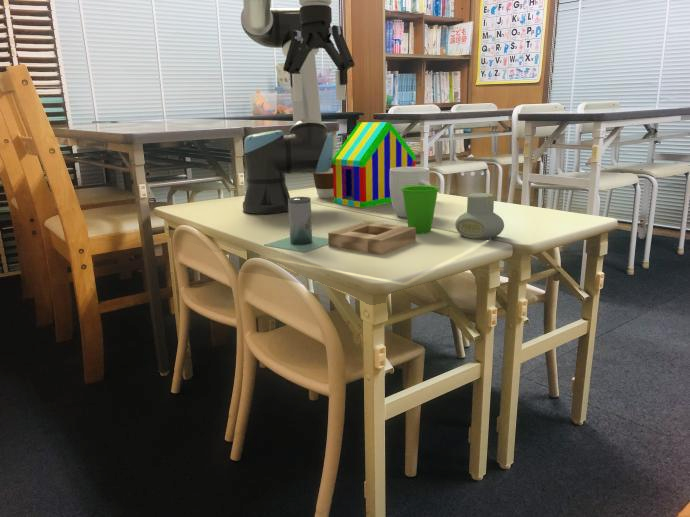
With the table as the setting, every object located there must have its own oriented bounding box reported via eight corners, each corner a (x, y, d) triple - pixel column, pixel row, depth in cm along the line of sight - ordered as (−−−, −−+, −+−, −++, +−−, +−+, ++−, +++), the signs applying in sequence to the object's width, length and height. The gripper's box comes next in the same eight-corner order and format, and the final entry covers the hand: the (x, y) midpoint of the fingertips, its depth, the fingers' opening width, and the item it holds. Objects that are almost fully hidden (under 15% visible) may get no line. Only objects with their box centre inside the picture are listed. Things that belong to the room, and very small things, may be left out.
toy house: (363, 208, 167) (361, 123, 160) (333, 203, 177) (331, 123, 170) (415, 197, 183) (415, 120, 176) (385, 193, 192) (385, 120, 186)
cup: (397, 229, 137) (397, 185, 134) (433, 228, 138) (434, 184, 135) (404, 238, 128) (404, 191, 125) (442, 236, 129) (443, 189, 126)
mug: (446, 218, 149) (448, 169, 146) (416, 223, 143) (416, 173, 140) (411, 210, 161) (411, 165, 158) (381, 215, 155) (381, 168, 152)
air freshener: (449, 237, 128) (450, 195, 125) (467, 231, 134) (468, 190, 131) (492, 244, 121) (494, 199, 118) (509, 237, 127) (511, 194, 124)
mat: (264, 247, 123) (263, 244, 123) (299, 236, 132) (299, 234, 132) (304, 254, 116) (304, 251, 116) (338, 242, 125) (338, 240, 125)
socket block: (328, 248, 121) (328, 232, 120) (364, 235, 132) (364, 221, 131) (381, 257, 113) (381, 240, 112) (415, 242, 124) (415, 227, 123)
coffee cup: (305, 197, 189) (303, 162, 186) (328, 193, 196) (327, 159, 193) (325, 200, 181) (324, 164, 178) (349, 196, 188) (348, 161, 185)
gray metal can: (285, 243, 124) (283, 199, 121) (300, 238, 128) (298, 196, 125) (302, 246, 121) (300, 201, 118) (316, 241, 125) (315, 197, 122)
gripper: (265, 10, 133) (271, 101, 138) (348, -3, 118) (350, 99, 124) (287, 13, 138) (291, 101, 144) (368, 1, 124) (369, 99, 130)
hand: (318, 100), depth 134 cm, fingers open, 13 cm apart
